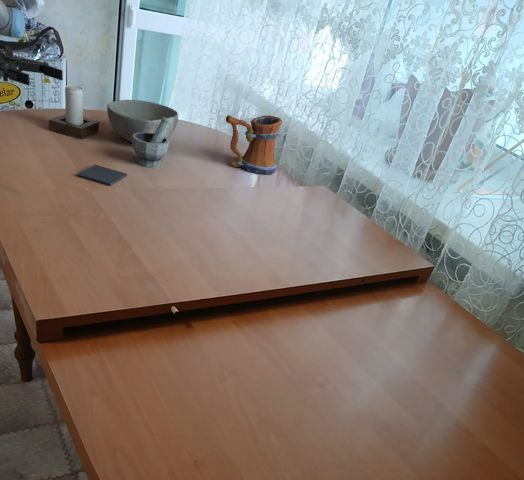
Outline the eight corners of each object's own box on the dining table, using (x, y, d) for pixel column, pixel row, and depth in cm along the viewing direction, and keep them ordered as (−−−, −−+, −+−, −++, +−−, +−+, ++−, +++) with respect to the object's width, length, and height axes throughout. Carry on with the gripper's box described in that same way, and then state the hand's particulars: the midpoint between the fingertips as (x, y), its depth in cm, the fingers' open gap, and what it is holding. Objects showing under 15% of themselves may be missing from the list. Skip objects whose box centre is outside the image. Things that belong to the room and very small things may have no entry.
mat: (76, 176, 134) (76, 173, 133) (95, 166, 141) (95, 164, 140) (110, 186, 133) (110, 183, 132) (127, 175, 140) (127, 173, 140)
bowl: (150, 129, 175) (152, 96, 169) (188, 151, 165) (192, 117, 159) (93, 132, 162) (93, 96, 157) (130, 156, 152) (132, 119, 146)
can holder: (49, 130, 157) (48, 119, 155) (68, 123, 165) (68, 113, 163) (81, 139, 155) (81, 128, 154) (99, 132, 164) (99, 121, 162)
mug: (226, 173, 155) (234, 119, 147) (213, 159, 163) (220, 107, 155) (282, 176, 163) (293, 124, 154) (267, 162, 171) (276, 112, 162)
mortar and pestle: (146, 171, 145) (149, 125, 138) (124, 159, 149) (125, 113, 142) (177, 166, 153) (182, 122, 146) (155, 155, 157) (158, 111, 150)
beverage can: (83, 134, 159) (83, 90, 152) (66, 132, 158) (65, 88, 151) (82, 129, 163) (82, 86, 156) (65, 127, 161) (64, 84, 154)
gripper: (19, 68, 172) (74, 86, 167) (-47, 76, 152) (14, 96, 148) (17, 42, 167) (74, 59, 163) (-51, 46, 148) (11, 66, 143)
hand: (45, 77), depth 155 cm, fingers open, 13 cm apart
